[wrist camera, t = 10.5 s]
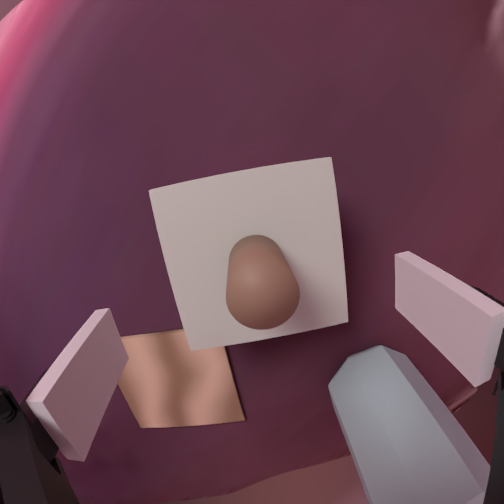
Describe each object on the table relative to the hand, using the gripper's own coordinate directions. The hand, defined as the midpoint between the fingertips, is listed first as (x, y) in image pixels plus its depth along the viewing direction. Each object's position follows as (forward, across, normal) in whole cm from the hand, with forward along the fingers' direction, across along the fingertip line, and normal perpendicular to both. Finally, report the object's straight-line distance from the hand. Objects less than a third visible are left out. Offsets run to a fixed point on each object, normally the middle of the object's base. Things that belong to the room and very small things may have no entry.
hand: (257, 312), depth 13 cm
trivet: (+15, -10, -14) cm, 23 cm away
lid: (+9, 0, 0) cm, 9 cm away
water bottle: (+14, +11, -18) cm, 26 cm away
